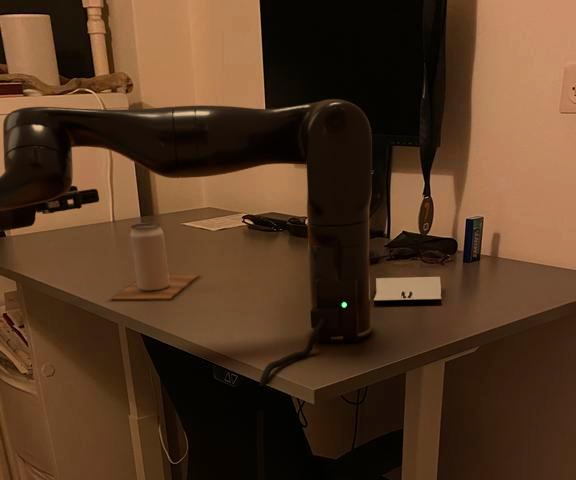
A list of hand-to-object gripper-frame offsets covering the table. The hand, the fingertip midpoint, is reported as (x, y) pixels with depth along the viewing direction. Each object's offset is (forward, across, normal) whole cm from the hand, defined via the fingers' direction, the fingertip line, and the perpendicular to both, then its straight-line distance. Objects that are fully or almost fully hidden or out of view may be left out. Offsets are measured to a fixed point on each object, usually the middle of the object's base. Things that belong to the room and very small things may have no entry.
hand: (87, 193), depth 144 cm
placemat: (+12, +1, +20) cm, 23 cm away
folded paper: (+38, -43, +20) cm, 61 cm away
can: (+11, 0, +20) cm, 22 cm away
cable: (+51, -15, +20) cm, 57 cm away
